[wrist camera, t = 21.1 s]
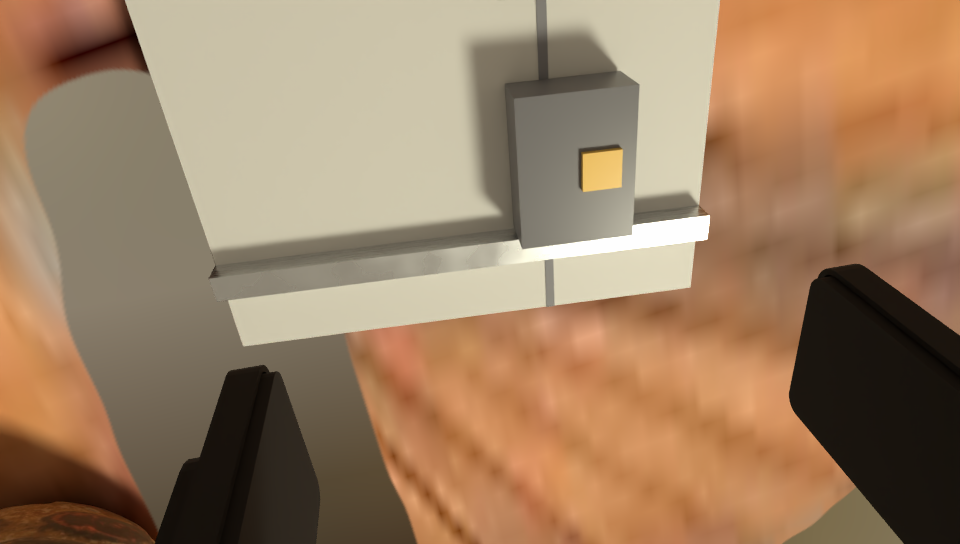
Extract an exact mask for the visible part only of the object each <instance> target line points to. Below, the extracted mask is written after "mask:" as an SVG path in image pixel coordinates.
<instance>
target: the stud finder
mask: <svg viewBox="0 0 960 544" xmlns="http://www.w3.org/2000/svg"><path fill="white" fill-rule="evenodd" d="M639 86H640V84H638V83H637V82H635V81H634V80H633V79H631V78H630V77H628V76H627V75H626V74H624V73H623V72H621V71H613V72H604V73H595V74H586V75H577V76H569V77H560V78H551V79H542V80H533V81H524V82H515V83H506V84H505V98H506V114H507V130H508V146H509V162H510V178H511V194H512V211H513V225H514V228H515V231H516V234H517V236H518V239H519V242H520V245H521V247H522V249H529V248H537V247H545V246H553V245H561V244H569V243H576V242H584V241H592V240H600V239H608V238H616V237H624V236H632V235H633V217H634V196H635V174H636V152H637V130H638V108H639Z"/></svg>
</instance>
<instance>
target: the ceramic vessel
mask: <svg viewBox="0 0 960 544" xmlns="http://www.w3.org/2000/svg"><path fill="white" fill-rule="evenodd" d="M0 544H155V541H154V540H153V539H151V537H150V536H149V535H148V533H147V532H146V531H145V530H144V529H143V528H141V527H140V526H139V525H137V524H136V523H134V522H132V521H130V520H128V519H126V518H124V517H122V516H120V515H117V514H115V513H113V512H110V511H107V510H105V509H102V508H98V507H95V506H90V505H85V504H78V503H71V502H53V503H50V504H30V505H22V506H14V507H9V508H4V509H0Z"/></svg>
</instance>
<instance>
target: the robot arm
mask: <svg viewBox="0 0 960 544" xmlns="http://www.w3.org/2000/svg"><path fill="white" fill-rule="evenodd" d="M789 399H790V404H791V407H792V409H793V411H794V412H795V414H796V415H797V416H798V417H799V419H800V420H801V421H802V422H803V423H804V425H805V426H806V427H807V428H808V429H809V431H810V432H811V433H812V434H813V435H814V437H815V438H816V439H817V440H818V441H819V442H820V444H821V445H822V446H823V447H824V448H825V450H826V451H827V452H828V453H829V454H830V456H831V457H832V458H833V459H834V460H835V462H836V463H837V464H838V465H839V466H840V468H841V469H842V470H843V471H844V472H845V474H846V475H847V476H848V477H849V478H850V480H851V481H852V482H853V483H854V484H855V486H856V487H857V488H858V489H859V490H860V492H861V493H862V494H863V495H864V496H865V498H866V499H867V500H868V501H869V502H870V504H871V505H872V506H873V507H874V508H875V510H876V511H877V512H878V513H879V514H880V516H881V517H882V518H883V519H884V520H885V522H886V523H887V524H888V525H889V526H890V528H891V529H892V530H893V531H894V532H895V534H896V535H897V536H898V537H899V538H900V539H901V540H902V542H903V543H904V544H960V335H958V334H957V333H955V332H954V331H953V330H951V329H950V328H949V327H947V326H946V325H944V324H943V323H942V322H940V321H939V320H938V319H936V318H935V317H933V316H932V315H931V314H929V313H928V312H927V311H925V310H924V309H922V308H921V307H920V306H918V305H917V304H916V303H914V302H913V301H911V300H910V299H909V298H907V297H906V296H905V295H903V294H902V293H900V292H899V291H898V290H896V289H895V288H894V287H892V286H891V285H889V284H888V283H887V282H885V281H884V280H883V279H881V278H880V277H878V276H877V275H876V274H874V273H873V272H872V271H870V270H869V269H867V268H866V267H865V266H863V265H861V264H851V265H845V266H839V267H834V268H828V269H825V270H823V271H822V272H821V273H820V274H819V276H818V279H815V280H814V281H813V282H812V283H811V286H810V290H809V295H808V300H807V305H806V310H805V315H804V320H803V325H802V331H801V336H800V341H799V346H798V351H797V356H796V361H795V366H794V371H793V376H792V381H791V386H790V391H789ZM319 506H320V492H319V485H318V480H317V477H316V475H315V471H314V468H313V466H312V463H311V460H310V457H309V454H308V452H307V448H306V445H305V442H304V440H303V437H302V434H301V431H300V428H299V425H298V422H297V419H296V417H295V414H294V411H293V408H292V405H291V402H290V399H289V396H288V393H287V391H286V388H285V385H284V382H283V379H282V377H281V374H280V373H279V372H271V373H270V372H269V370H268V369H267V367H266V366H265V365H260V366H254V367H248V368H243V369H237V370H231V371H229V372H228V373H227V375H226V378H225V381H224V384H223V387H222V390H221V394H220V397H219V399H218V403H217V406H216V409H215V412H214V415H213V418H212V421H211V424H210V428H209V431H208V434H207V437H206V440H205V443H204V446H203V449H202V452H201V455H200V457H199V458H193V459H188V461H186V462H185V463H184V464H183V466H182V468H181V470H180V472H179V475H178V478H177V481H176V484H175V487H174V489H173V492H172V495H171V498H170V501H169V504H168V507H167V510H166V512H165V515H164V518H163V521H162V524H161V527H160V529H159V532H158V535H157V538H156V541H155V544H316V539H317V528H318V527H317V526H318V517H319Z"/></svg>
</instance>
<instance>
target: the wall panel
mask: <svg viewBox="0 0 960 544" xmlns="http://www.w3.org/2000/svg"><path fill="white" fill-rule="evenodd" d="M125 2H126V5H127V8H128V11H129V14H130V17H131V20H132V22H133V25H134V28H135V31H136V34H137V37H138V40H139V43H140V46H141V49H142V52H143V55H144V58H145V60H146V63H147V66H148V69H149V72H150V75H151V78H152V81H153V84H154V86H155V90H156V92H157V96H158V98H159V101H160V104H161V107H162V110H163V113H164V116H165V119H166V122H167V125H168V127H169V131H170V133H171V136H172V139H173V142H174V145H175V148H176V151H177V154H178V157H179V160H180V163H181V165H182V169H183V171H184V174H185V177H186V180H187V183H188V186H189V189H190V192H191V195H192V198H193V201H194V204H195V207H196V209H197V212H198V215H199V218H200V221H201V224H202V227H203V230H204V232H205V235H206V239H207V242H208V244H209V247H210V250H211V253H212V256H213V259H214V262H215V265H216V266H215V268H214V269H213V271H212V273H211V275H210V277H209V281H210V284H211V287H212V290H213V293H214V295H215V298H216V301H217V302H220V301H226V300H228V303H229V305H230V309H231V312H232V315H233V317H234V320H235V323H236V326H237V329H238V332H239V335H240V338H241V341H242V343H243V346H250V345H257V344H265V343H272V342H279V341H287V340H295V339H303V338H310V337H317V336H325V335H333V334H340V333H348V332H356V331H363V330H371V329H379V328H386V327H394V326H401V325H409V324H416V323H424V322H432V321H439V320H447V319H454V318H462V317H470V316H477V315H485V314H492V313H500V312H507V311H515V310H523V309H530V308H538V307H545V306H547V307H549V306H555V305H561V304H568V303H576V302H583V301H591V300H599V299H606V298H614V297H621V296H629V295H636V294H644V293H652V292H659V291H667V290H674V289H682V288H690V286H691V276H692V267H693V257H694V247H695V241H697V240H705V239H707V236H708V227H709V218H710V215H708V214H707V213H706V212H705V211H704V210H703V209H702V208H701V207H700V206H699V199H700V189H701V179H702V170H703V160H704V150H705V141H706V131H707V121H708V111H709V102H710V92H711V82H712V73H713V63H714V53H715V43H716V34H717V24H718V14H719V5H720V0H125ZM613 71H621V72H623V73H624V74H626V75H627V76H628V77H630V78H631V79H633V80H634V81H635V82H637V83H638V84H640V86H639V108H638V130H637V152H636V174H635V196H634V217H633V235H632V236H624V237H616V238H608V239H600V240H592V241H584V242H576V243H569V244H561V245H553V246H545V247H537V248H529V249H522V247H521V245H520V242H519V239H518V236H517V234H516V231H515V228H514V225H513V211H512V194H511V178H510V162H509V146H508V130H507V114H506V98H505V84H506V83H515V82H524V81H533V80H542V79H551V78H560V77H569V76H577V75H586V74H595V73H604V72H613Z"/></svg>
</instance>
